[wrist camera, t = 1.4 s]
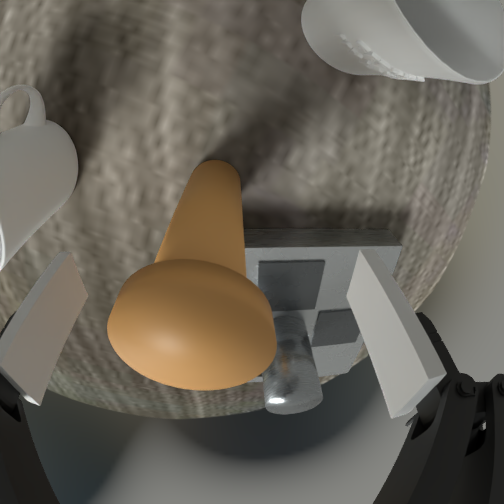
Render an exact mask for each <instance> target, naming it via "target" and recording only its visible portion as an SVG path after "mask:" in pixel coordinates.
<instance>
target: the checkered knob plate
mask: <svg viewBox="0 0 504 504" xmlns="http://www.w3.org/2000/svg"><path fill="white" fill-rule="evenodd" d="M244 245H245V260H246V275H247V278H248V279H249V280H251V281H252V282H253V283H254V284H255V285H256V286H257V287H258V288H259V289H260V290H261V291H262V292H263V293H264V295H265V296H266V298H267V300H268V301H269V304H270V306H271V310H272V315H273V321H274V328H275V334H276V341H277V350H276V354H275V357H274V359H273V361H272V363H271V364H270V365H269V367H268V368H267V369H266V370H265V371H264V372H263V373H261V374H260V375H259V376H257V377H255V378H254V379H252V380H250V381H248V382H263V387H264V397H265V407H266V409H267V410H268V411H270V412H272V413H276V414H294V413H299V412H303V411H306V410H309V409H311V408H313V407H315V406H317V405H318V404H319V403H321V401H322V400H323V394H322V390H321V386H320V381H319V377H320V376H328V375H335V374H342V373H348V372H349V370H350V368H351V366H352V364H353V362H354V360H355V358H356V357H357V355H358V353H359V351H360V349H361V347H362V345H363V343H364V339H363V337H362V334H361V332H360V329H359V326H358V324H357V321H356V319H355V316H354V314H353V312H352V309H351V307H350V304H349V302H348V300H347V297H346V296H347V292H348V289H349V286H350V282H351V279H352V276H353V272H354V268H355V265H356V261H357V257H358V254H359V250H360V249H375V251H376V252H377V254H378V255H379V257H380V258H381V260H382V261H383V263H384V264H385V266H386V267H387V269H388V270H389V272H390V273H391V275H393V272H394V269H395V267H396V264H397V261H398V258H399V255H400V252H401V249H402V245H401V244H400V242H399V241H398V240H397V239H396V238H395V237H394V235H393V234H392V233H391V232H390V231H389V230H388V229H345V228H261V229H244Z"/></svg>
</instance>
